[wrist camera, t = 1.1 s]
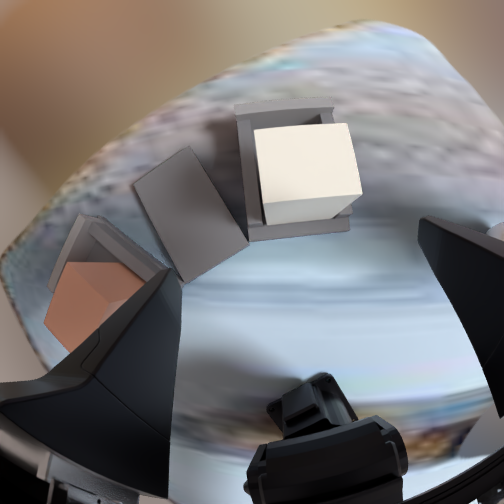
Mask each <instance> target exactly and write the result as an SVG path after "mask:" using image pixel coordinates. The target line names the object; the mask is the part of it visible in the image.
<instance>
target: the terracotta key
mask: <svg viewBox="0 0 504 504" xmlns="http://www.w3.org/2000/svg"><path fill="white" fill-rule="evenodd" d="M145 283H146V281H145V280H144V279H142V278H141V277H140V276H139V275H137V274H136V273H135V272H134V271H132V270H131V269H130V268H129V267H128V266H126V265H125V264H124V263H111V262H67V263H66V265H65V268H64V270H63V272H62V275H61V277H60V279H59V282H58V284H57V287H56V289H55V292H54V295H53V297H52V300H51V303H50V306H49V308H48V311H47V314H46V317H45V320H44V324H45V326H46V327H47V328H48V329H49V330H50V332H51V333H52V334H53V335H54V336H55V337H56V338H57V339H58V341H59V342H60V343H61V344H62V345H63V346H64V347H65V348H66V349H67V350H68V351H69V352H70V353H71V352H72V351H73V350H74V349H76V348H77V347H78V346H79V345H80V344H81V343H82V342H83V341H84V340H85V339H86V338H88V337H89V336H90V335H91V334H92V333H93V332H94V331H95V330H96V329H97V328H99V326H100V325H101V324H102V323H103V322H104V321H105V320H106V319H107V318H108V317H110V316H111V315H112V314H113V313H114V312H115V311H116V310H117V309H118V308H119V307H120V306H121V305H122V304H123V303H124V302H126V301H127V300H128V299H129V298H130V297H131V296H132V295H133V294H134V293H135V292H136V291H138V290H139V289H140V288H141V287H142V286H143V285H144V284H145Z"/></svg>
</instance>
